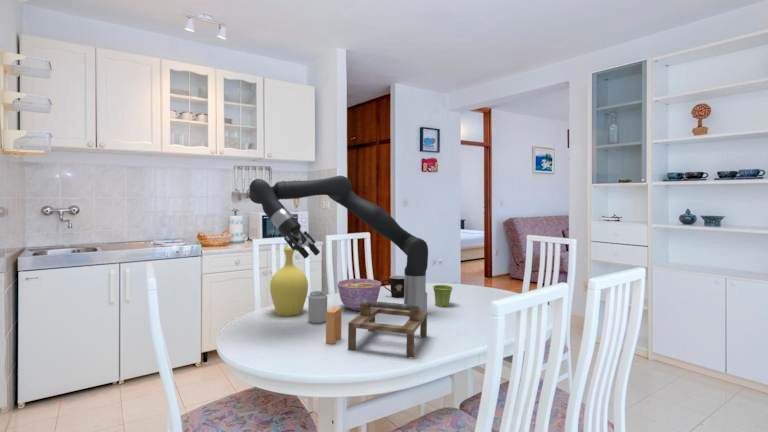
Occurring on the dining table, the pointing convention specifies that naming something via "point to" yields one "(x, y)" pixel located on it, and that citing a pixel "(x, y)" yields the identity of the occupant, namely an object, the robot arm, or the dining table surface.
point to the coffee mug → (396, 286)
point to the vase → (289, 288)
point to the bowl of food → (358, 291)
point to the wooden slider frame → (368, 320)
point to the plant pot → (442, 294)
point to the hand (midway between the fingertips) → (312, 255)
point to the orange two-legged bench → (333, 325)
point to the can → (317, 307)
